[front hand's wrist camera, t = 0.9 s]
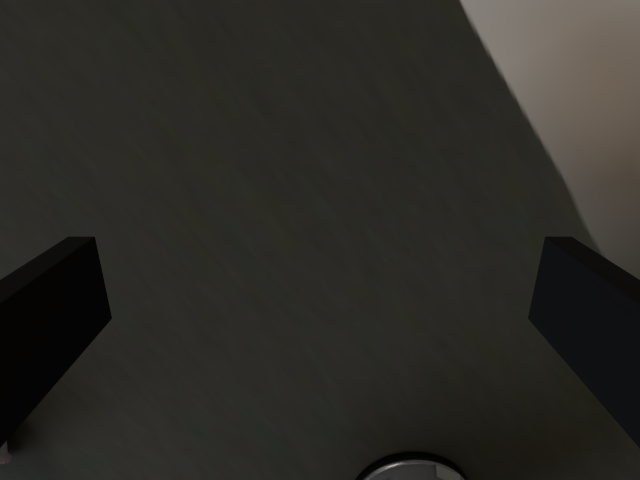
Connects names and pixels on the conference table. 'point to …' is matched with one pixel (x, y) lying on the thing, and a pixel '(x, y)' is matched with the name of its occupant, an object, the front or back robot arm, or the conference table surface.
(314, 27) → the conference table surface
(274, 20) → the conference table surface
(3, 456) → the toy
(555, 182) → the conference table surface
